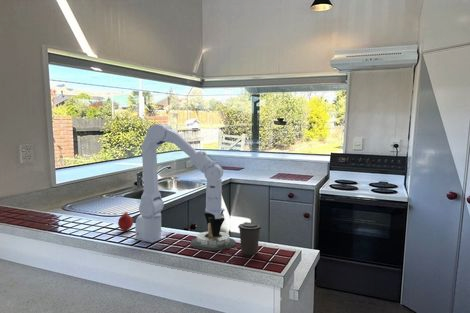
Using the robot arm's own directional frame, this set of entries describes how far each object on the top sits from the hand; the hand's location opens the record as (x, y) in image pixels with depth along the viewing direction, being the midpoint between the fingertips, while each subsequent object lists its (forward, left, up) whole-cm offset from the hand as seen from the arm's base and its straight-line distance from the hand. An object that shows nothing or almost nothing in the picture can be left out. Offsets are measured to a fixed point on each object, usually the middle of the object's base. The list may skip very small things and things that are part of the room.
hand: (213, 233), depth 124 cm
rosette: (0, 0, -4) cm, 4 cm away
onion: (-39, -6, -4) cm, 40 cm away
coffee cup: (+16, -2, -4) cm, 17 cm away
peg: (0, 0, -3) cm, 3 cm away
